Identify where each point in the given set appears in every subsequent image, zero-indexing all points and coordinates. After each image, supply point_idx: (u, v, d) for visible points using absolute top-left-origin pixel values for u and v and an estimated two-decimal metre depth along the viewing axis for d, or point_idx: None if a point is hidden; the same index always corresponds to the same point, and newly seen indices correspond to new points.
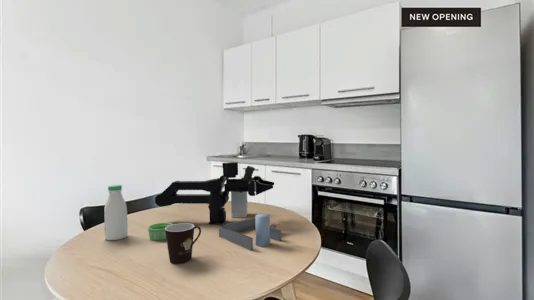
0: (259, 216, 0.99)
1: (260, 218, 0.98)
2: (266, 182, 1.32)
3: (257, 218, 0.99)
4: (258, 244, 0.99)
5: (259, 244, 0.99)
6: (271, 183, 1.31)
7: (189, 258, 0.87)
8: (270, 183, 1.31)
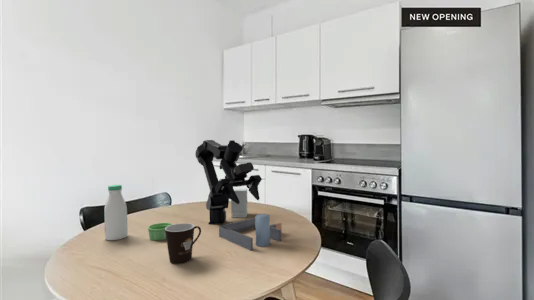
0: (259, 216, 0.99)
1: (260, 218, 0.98)
2: (255, 191, 1.11)
3: (257, 218, 0.99)
4: (258, 244, 0.99)
5: (259, 244, 0.99)
6: (256, 197, 1.10)
7: (189, 258, 0.87)
8: (256, 196, 1.10)
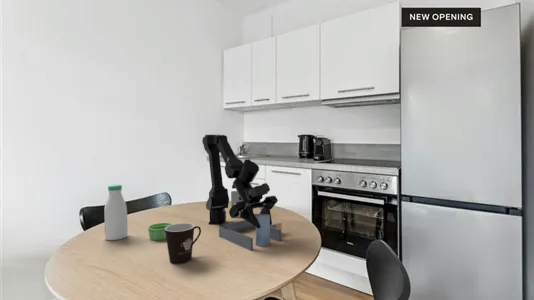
0: (259, 216, 0.99)
1: (261, 218, 0.98)
2: None
3: (257, 218, 0.99)
4: (258, 244, 0.99)
5: (259, 244, 0.99)
6: None
7: (189, 258, 0.87)
8: None
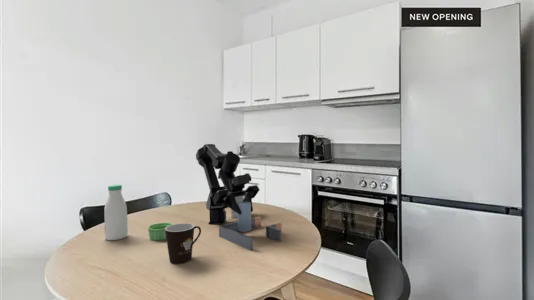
0: (241, 203, 1.08)
1: (242, 205, 1.06)
2: None
3: (239, 205, 1.07)
4: (239, 229, 1.07)
5: (240, 229, 1.07)
6: None
7: (189, 258, 0.87)
8: None
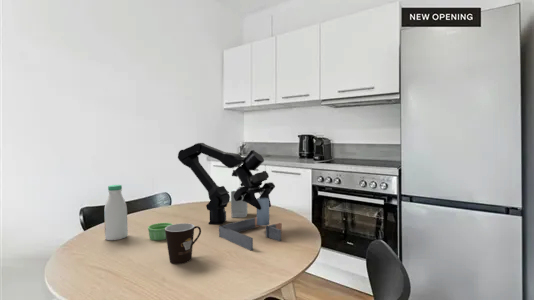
0: (260, 199, 1.14)
1: (261, 201, 1.12)
2: None
3: (258, 201, 1.13)
4: (259, 223, 1.13)
5: (260, 223, 1.13)
6: None
7: (189, 258, 0.87)
8: None
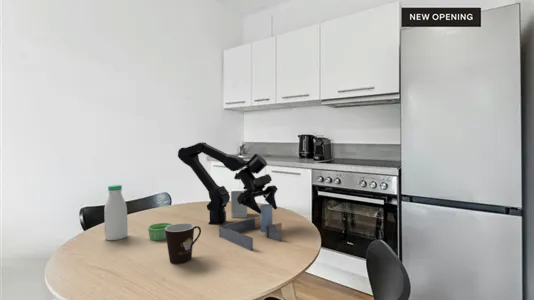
0: (263, 206, 1.15)
1: (265, 207, 1.14)
2: (272, 201, 1.20)
3: (262, 207, 1.14)
4: (262, 230, 1.14)
5: (263, 230, 1.14)
6: (274, 206, 1.19)
7: (189, 258, 0.87)
8: (273, 206, 1.19)
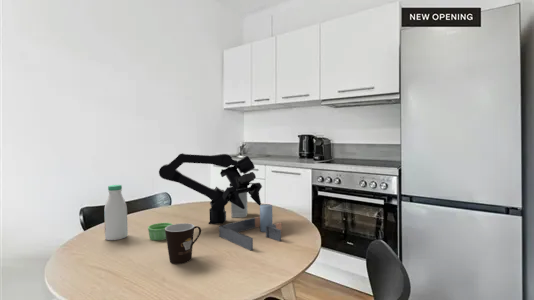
0: (263, 206, 1.15)
1: (265, 208, 1.14)
2: (256, 197, 1.26)
3: (262, 207, 1.14)
4: (263, 230, 1.14)
5: (263, 230, 1.14)
6: (258, 202, 1.25)
7: (189, 258, 0.87)
8: (257, 202, 1.26)
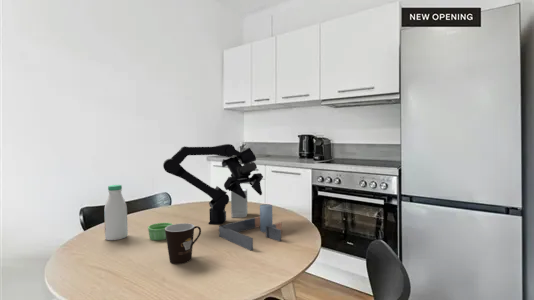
0: (263, 206, 1.15)
1: (265, 208, 1.14)
2: (258, 187, 1.27)
3: (262, 208, 1.14)
4: (263, 230, 1.14)
5: (263, 230, 1.14)
6: (259, 192, 1.26)
7: (189, 258, 0.87)
8: (259, 192, 1.27)
